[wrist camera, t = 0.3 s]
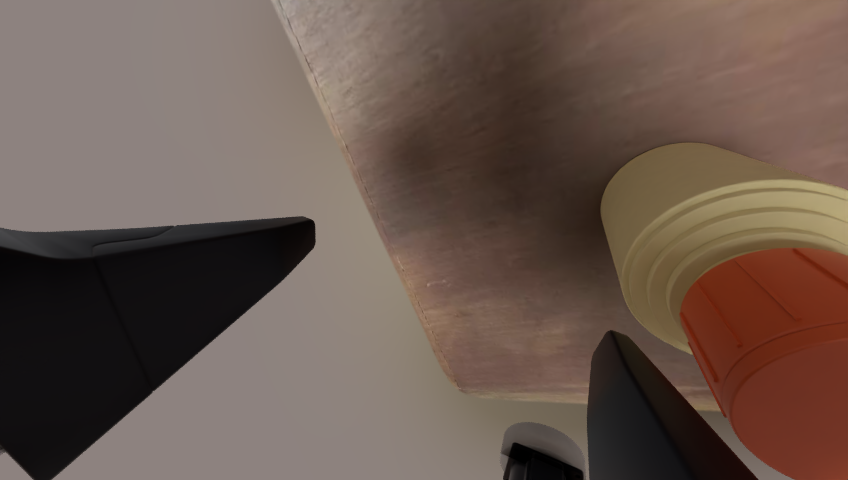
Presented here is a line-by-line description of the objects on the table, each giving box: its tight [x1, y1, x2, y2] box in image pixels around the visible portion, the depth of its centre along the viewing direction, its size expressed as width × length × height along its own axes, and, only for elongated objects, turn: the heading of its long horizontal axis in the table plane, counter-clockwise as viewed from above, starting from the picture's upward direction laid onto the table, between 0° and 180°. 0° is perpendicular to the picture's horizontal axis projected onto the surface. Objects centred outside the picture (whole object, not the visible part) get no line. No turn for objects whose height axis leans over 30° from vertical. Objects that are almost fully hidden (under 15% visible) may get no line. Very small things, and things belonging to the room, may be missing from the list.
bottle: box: [600, 142, 848, 355], centre depth 11 cm, size 6×6×12 cm
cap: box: [679, 248, 848, 480], centre depth 7 cm, size 4×4×3 cm
